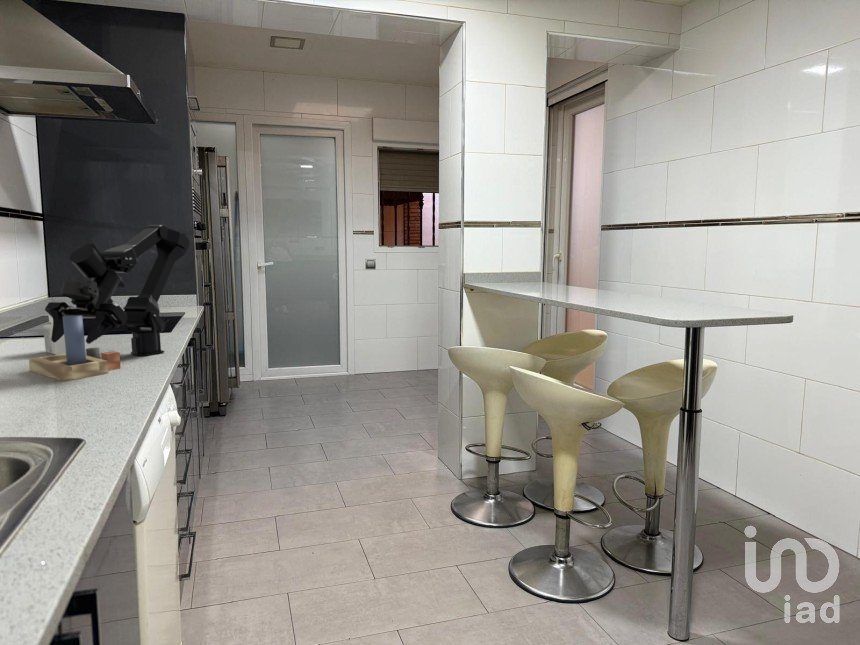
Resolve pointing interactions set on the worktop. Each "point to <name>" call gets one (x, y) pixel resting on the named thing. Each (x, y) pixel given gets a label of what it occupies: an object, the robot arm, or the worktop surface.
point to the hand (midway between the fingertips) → (70, 342)
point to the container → (49, 344)
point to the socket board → (61, 371)
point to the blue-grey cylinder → (74, 339)
